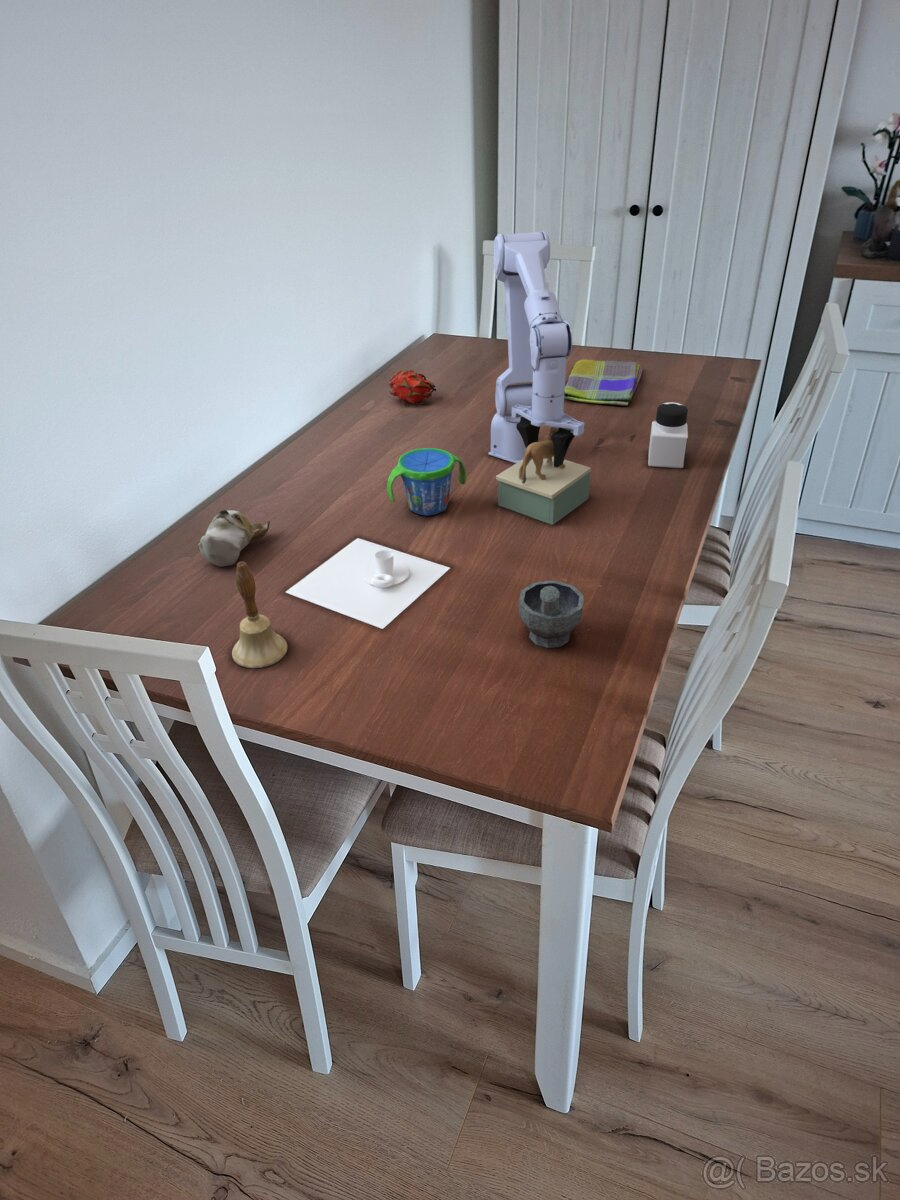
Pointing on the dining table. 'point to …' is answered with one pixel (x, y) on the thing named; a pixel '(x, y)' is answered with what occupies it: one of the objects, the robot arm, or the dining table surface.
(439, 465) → the snack cup
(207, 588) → the dining table surface
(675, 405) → the medicine bottle
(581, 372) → the dish towel
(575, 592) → the mortar and pestle
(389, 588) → the teacup and saucer
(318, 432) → the dining table surface
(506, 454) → the robot arm
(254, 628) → the hand bell
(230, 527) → the ceramic sculpture
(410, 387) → the dragon fruit
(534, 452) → the lion figurine
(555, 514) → the box
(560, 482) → the lid
